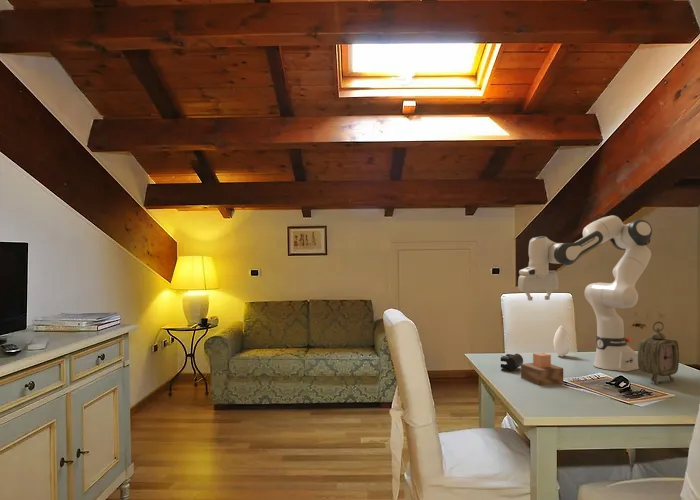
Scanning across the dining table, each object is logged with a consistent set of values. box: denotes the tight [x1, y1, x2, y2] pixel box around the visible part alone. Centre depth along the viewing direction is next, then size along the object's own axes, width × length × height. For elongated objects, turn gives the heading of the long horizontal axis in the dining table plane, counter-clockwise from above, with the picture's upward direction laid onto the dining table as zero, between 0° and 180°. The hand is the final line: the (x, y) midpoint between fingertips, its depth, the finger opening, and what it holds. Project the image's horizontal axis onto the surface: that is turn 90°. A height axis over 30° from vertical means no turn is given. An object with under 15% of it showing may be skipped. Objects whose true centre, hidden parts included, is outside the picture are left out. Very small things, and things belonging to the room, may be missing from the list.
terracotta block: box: [532, 352, 552, 368], centre depth 216 cm, size 5×5×5 cm
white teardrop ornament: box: [553, 321, 571, 358], centre depth 261 cm, size 8×8×18 cm
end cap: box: [500, 353, 524, 373], centre depth 235 cm, size 10×7×7 cm
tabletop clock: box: [637, 321, 680, 385], centre depth 212 cm, size 14×9×25 cm, turn 117°
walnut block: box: [520, 362, 564, 386], centre depth 216 cm, size 12×12×6 cm
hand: (538, 300), depth 241 cm, fingers open, 8 cm apart
